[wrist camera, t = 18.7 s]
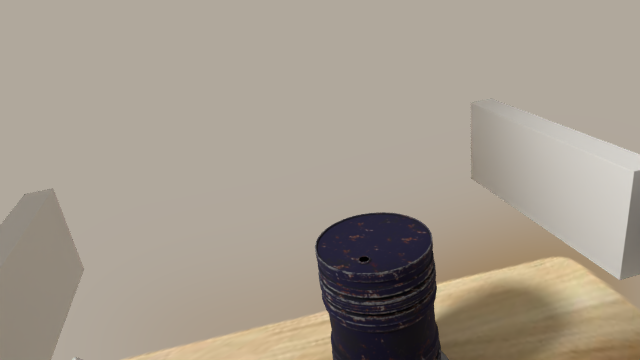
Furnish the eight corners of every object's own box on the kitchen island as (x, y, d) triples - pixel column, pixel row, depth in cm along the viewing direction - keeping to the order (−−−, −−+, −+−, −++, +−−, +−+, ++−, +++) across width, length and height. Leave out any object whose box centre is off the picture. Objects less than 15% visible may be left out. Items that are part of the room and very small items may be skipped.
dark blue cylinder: (353, 334, 52) (334, 210, 47) (448, 345, 49) (440, 213, 43) (323, 410, 44) (295, 270, 38) (435, 431, 40) (423, 280, 35)
